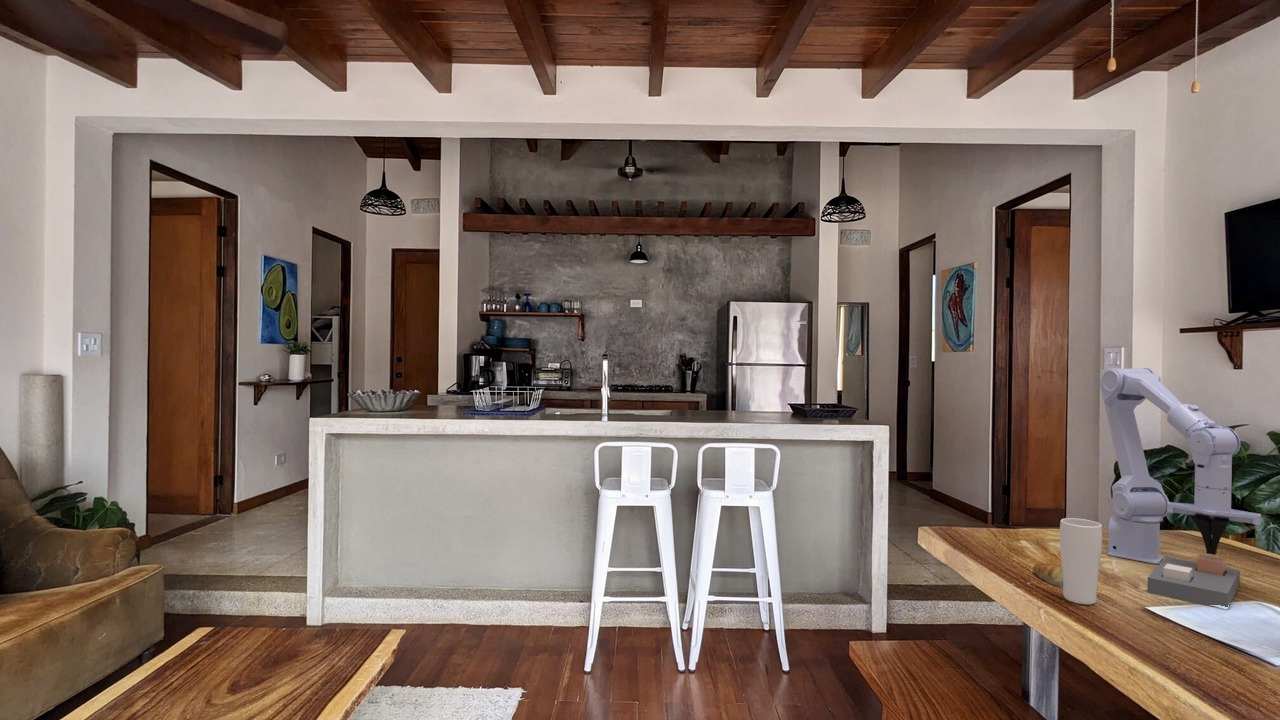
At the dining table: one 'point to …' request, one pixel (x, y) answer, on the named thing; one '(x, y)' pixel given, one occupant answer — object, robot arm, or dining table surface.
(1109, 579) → the dining table surface
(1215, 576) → the key panel
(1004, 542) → the dining table surface
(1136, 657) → the dining table surface
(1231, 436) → the robot arm
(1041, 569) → the pastry
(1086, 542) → the drinking glass
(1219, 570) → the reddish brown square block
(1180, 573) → the white key
